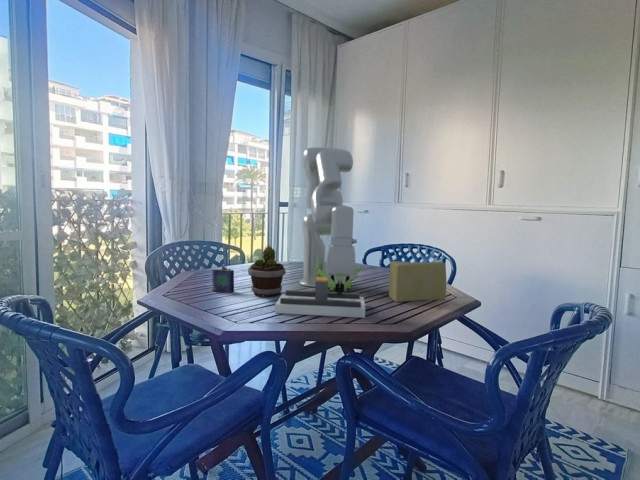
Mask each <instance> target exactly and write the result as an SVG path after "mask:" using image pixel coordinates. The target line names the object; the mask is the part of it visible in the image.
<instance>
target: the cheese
mask: <svg viewBox="0 0 640 480" xmlns="http://www.w3.org/2000/svg"><path fill="white" fill-rule="evenodd" d="M388 277H389V278H388V279H389V283H388V284H389V285H388V297H389V298H390V299H391V300H392V301H394V302H396V303H401V302H402V303H403V302H404V303H405V302H416V301H441V300H442V301H443V300H445V299H446V295H447V294H446V292H447V266H446V263H445V262H442V261H427V262H425V261H424V262H421V261H420V262H408V261H396V260H392V261H391V260H390V262H389V276H388Z"/></svg>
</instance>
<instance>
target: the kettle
mask: <svg viewBox="0 0 640 480" xmlns="http://www.w3.org/2000/svg"><path fill="white" fill-rule="evenodd" d="M363 268H364V267H363V266H358V267H355V276H356V277H357V275H358V273H359V271H360V270H361V269H363ZM316 273H318V274H319V275H320V276H322V277H325V273H326V272H325V271H324V272H323V271H321V270H320V269H319V270H318V271H317V272H316ZM342 276H343V275H338V280H339V283H341V281H342ZM355 279H356V278H354V279H349V280H348V281H347V282H346V283H345V284H344V292H347V291H348V289H352V281H355ZM335 286H336V284H335V282H334V281H333V280H332V279H331V278H328V291H330V292H334V291H335Z"/></svg>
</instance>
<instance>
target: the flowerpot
mask: <svg viewBox="0 0 640 480" xmlns="http://www.w3.org/2000/svg"><path fill="white" fill-rule="evenodd" d="M272 245H273V244H270V245H268V246H267V245H265V247H264V249H263V251H262V256H261V258H260V257H258V258H256V259H255V262H254V263H252V264H251V265H250V267H249V268H247V274H248V275H249V276H250V280H251V284H252V285H251V286H250V287H251V291H252V292H253V294H254V295H255V296H258V297H266V298H267V297H270V296H271V297H275V296H278V295H280V293H281V292H282V290H283V287H282V282H283V277H284V276H285V275H286V274H287V271H286V268H285V267H284V265H283V263H280V262H279V263H277V261H278V260H277V259H276V256H277V250H275V248H273V246H272Z"/></svg>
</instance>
